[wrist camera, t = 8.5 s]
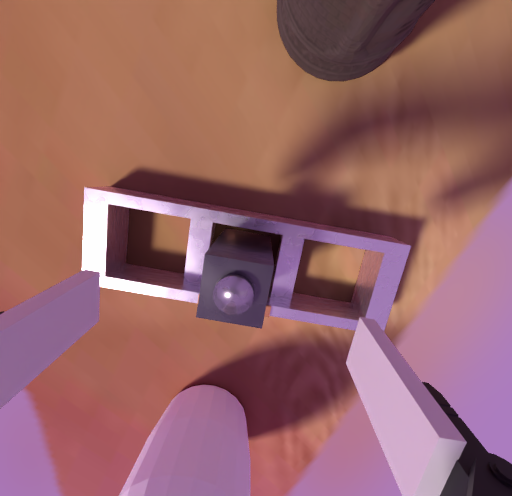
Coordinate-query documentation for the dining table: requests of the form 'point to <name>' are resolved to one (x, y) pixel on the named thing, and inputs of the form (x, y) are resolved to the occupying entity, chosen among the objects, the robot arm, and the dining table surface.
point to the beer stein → (345, 33)
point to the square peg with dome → (236, 278)
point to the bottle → (195, 448)
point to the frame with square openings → (207, 215)
